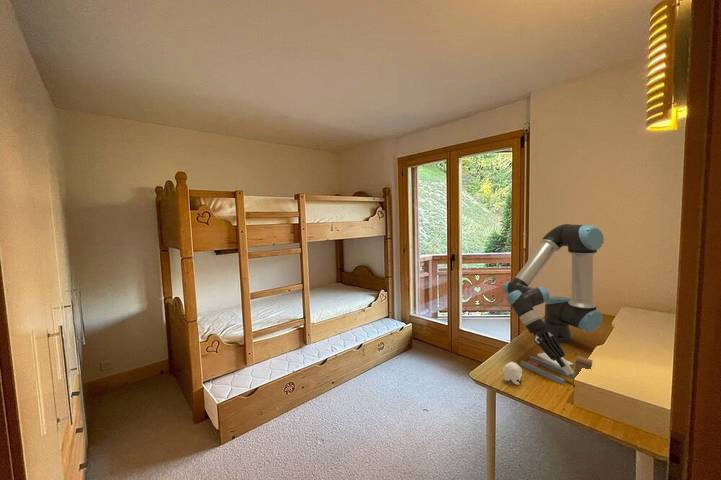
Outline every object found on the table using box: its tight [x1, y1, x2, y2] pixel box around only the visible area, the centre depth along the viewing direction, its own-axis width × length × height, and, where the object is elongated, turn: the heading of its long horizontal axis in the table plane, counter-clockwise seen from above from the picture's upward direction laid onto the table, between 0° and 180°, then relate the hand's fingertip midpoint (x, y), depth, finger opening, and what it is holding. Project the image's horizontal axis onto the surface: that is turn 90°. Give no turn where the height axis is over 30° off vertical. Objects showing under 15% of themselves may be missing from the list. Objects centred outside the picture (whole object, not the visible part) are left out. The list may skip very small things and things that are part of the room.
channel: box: [519, 355, 575, 385], centre depth 131 cm, size 9×18×2 cm, turn 31°
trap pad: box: [526, 360, 540, 367], centre depth 137 cm, size 6×4×1 cm
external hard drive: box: [536, 352, 575, 368], centre depth 141 cm, size 2×8×12 cm
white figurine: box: [502, 361, 524, 386], centre depth 125 cm, size 6×8×12 cm
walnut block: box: [572, 355, 594, 387], centre depth 120 cm, size 5×5×11 cm
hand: (570, 373), depth 122 cm, fingers closed
